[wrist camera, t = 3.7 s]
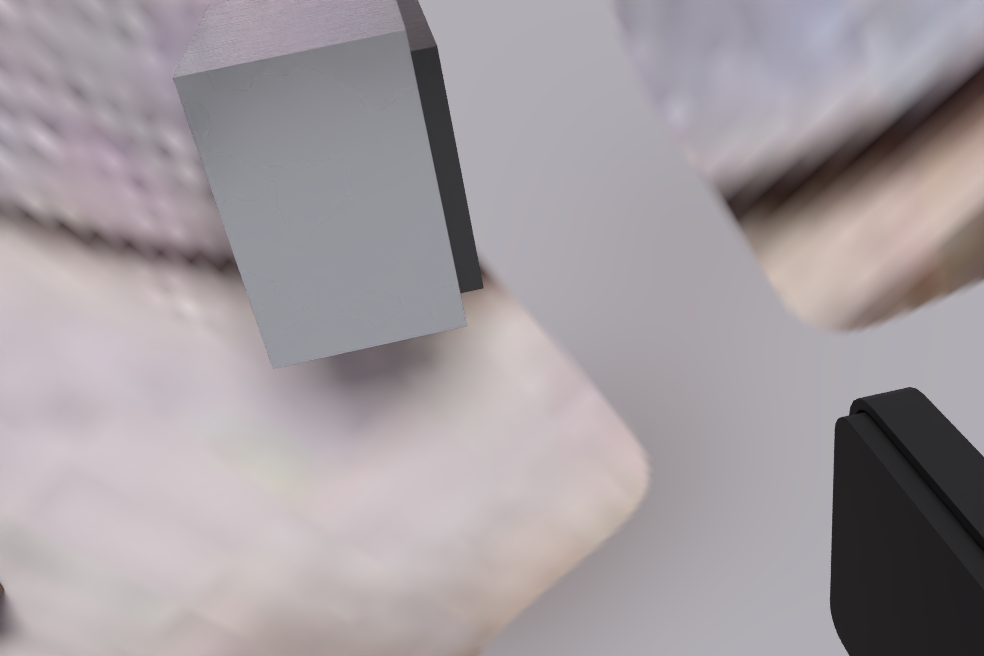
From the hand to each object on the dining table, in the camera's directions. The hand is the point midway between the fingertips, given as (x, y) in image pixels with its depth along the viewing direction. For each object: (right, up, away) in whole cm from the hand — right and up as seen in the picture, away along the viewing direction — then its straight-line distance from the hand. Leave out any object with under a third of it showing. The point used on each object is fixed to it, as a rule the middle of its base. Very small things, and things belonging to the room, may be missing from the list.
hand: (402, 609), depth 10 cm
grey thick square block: (-3, +8, +13) cm, 16 cm away
